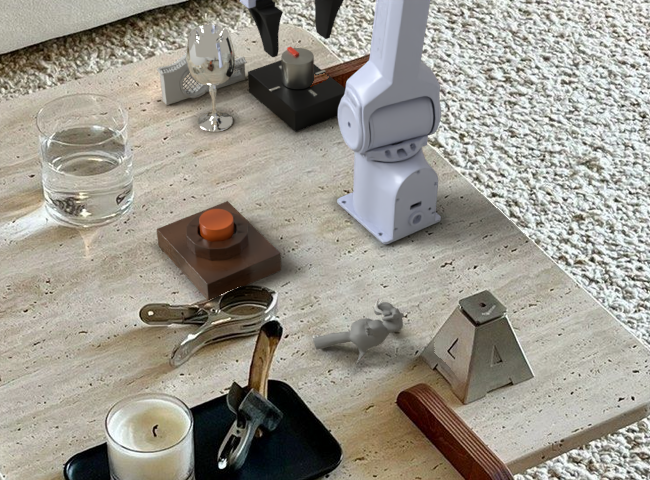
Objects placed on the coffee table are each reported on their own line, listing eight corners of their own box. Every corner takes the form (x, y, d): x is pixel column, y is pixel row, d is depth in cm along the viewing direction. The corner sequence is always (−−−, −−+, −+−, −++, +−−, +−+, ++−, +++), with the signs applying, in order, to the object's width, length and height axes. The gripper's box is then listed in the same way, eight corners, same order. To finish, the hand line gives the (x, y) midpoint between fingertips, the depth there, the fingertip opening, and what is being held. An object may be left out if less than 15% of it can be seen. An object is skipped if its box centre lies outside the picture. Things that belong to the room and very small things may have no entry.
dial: (320, 83, 148) (320, 56, 145) (293, 93, 146) (292, 65, 144) (302, 69, 150) (302, 42, 148) (275, 78, 149) (275, 51, 146)
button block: (281, 270, 127) (280, 241, 124) (208, 301, 124) (206, 272, 121) (228, 217, 134) (226, 188, 131) (158, 246, 130) (154, 217, 127)
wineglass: (244, 129, 146) (240, 41, 138) (200, 138, 145) (193, 50, 136) (229, 105, 150) (224, 18, 142) (186, 114, 149) (178, 27, 140)
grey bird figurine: (324, 313, 123) (408, 294, 120) (336, 369, 123) (420, 352, 120) (294, 315, 113) (384, 295, 110) (307, 377, 113) (398, 358, 110)
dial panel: (349, 112, 149) (350, 90, 147) (294, 132, 146) (294, 110, 143) (301, 73, 155) (301, 51, 153) (247, 92, 152) (246, 70, 150)
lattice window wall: (241, 75, 155) (239, 33, 151) (248, 81, 154) (246, 40, 150) (159, 101, 151) (155, 60, 147) (165, 108, 150) (161, 66, 145)
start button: (240, 234, 126) (239, 221, 125) (211, 247, 124) (210, 233, 123) (223, 217, 128) (222, 204, 127) (194, 229, 126) (192, 216, 125)
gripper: (328, -92, 140) (328, 13, 150) (223, -61, 135) (229, 47, 144) (363, -69, 136) (360, 37, 146) (256, -36, 131) (260, 72, 140)
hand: (297, 44), depth 145 cm, fingers open, 7 cm apart
